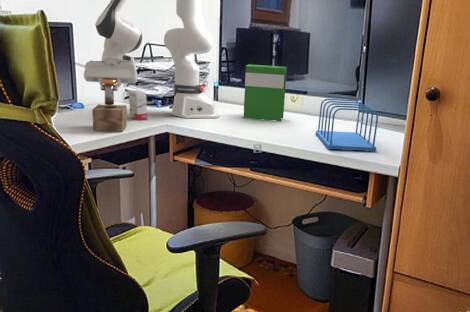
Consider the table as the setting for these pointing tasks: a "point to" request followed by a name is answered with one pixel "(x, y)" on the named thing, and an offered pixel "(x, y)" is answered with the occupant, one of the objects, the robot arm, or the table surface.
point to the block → (109, 118)
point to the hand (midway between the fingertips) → (108, 89)
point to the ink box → (137, 105)
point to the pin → (109, 90)
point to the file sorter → (346, 138)
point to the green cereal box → (264, 92)
